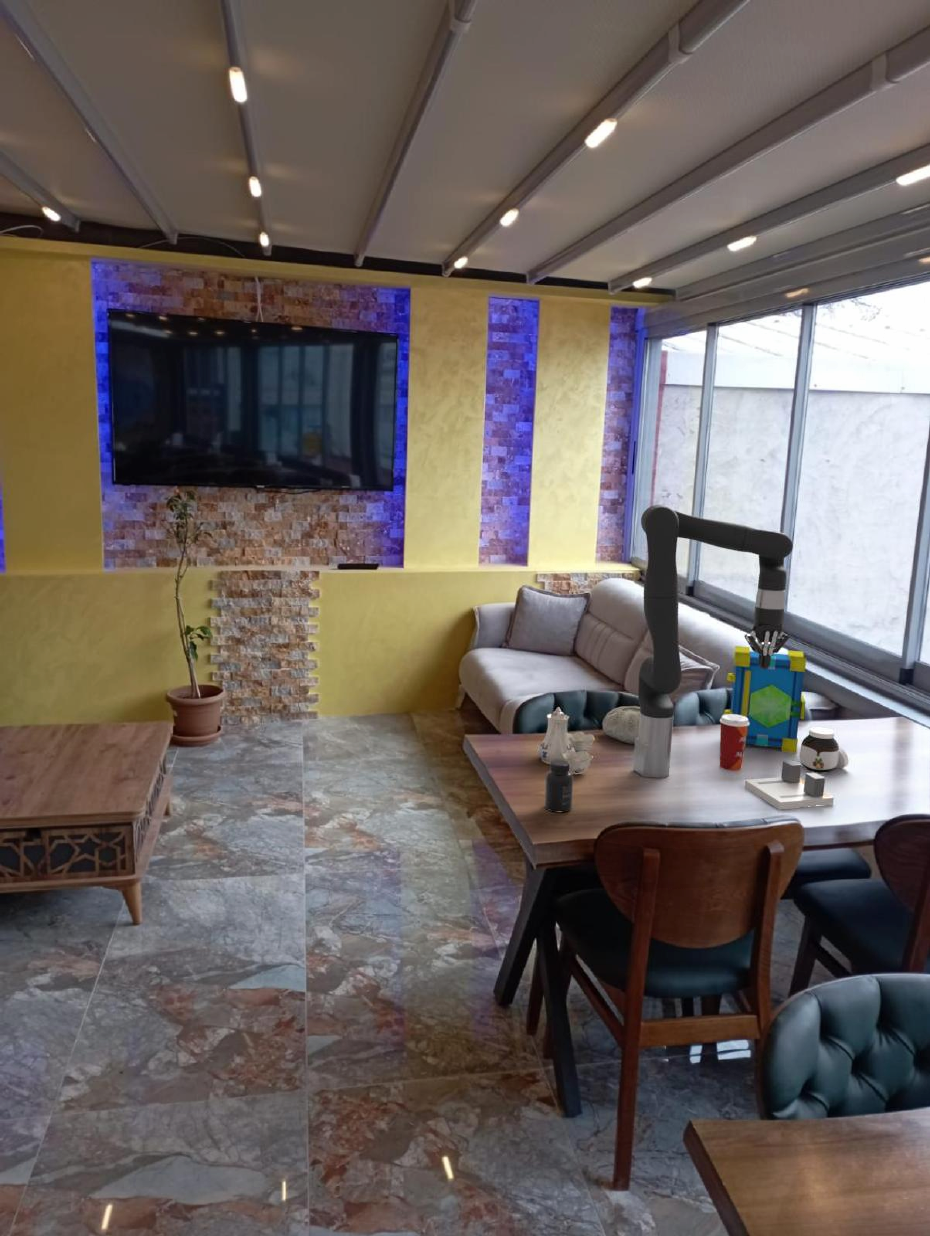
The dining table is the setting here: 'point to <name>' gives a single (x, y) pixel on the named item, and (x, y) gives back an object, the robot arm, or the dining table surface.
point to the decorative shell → (623, 723)
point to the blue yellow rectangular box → (769, 697)
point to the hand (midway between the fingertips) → (763, 668)
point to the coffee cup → (732, 741)
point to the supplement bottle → (559, 786)
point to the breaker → (814, 784)
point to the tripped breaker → (791, 771)
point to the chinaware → (565, 744)
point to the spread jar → (822, 751)
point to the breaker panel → (785, 793)
